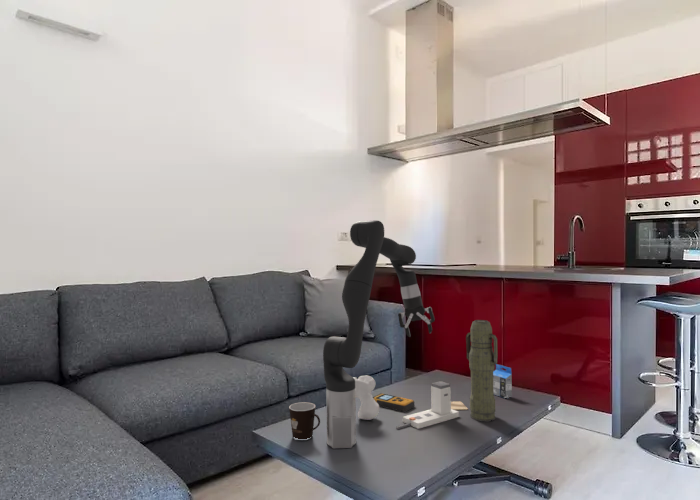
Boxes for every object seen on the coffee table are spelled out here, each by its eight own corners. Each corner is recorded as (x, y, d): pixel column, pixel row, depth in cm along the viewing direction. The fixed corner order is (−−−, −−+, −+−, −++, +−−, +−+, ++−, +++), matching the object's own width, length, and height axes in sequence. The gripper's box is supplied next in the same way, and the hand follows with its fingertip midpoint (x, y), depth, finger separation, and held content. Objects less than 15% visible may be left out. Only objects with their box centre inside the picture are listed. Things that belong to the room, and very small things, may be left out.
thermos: (472, 410, 170) (470, 318, 170) (502, 417, 162) (501, 320, 163) (462, 417, 163) (460, 320, 163) (493, 424, 155) (492, 323, 156)
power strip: (458, 416, 163) (458, 410, 163) (404, 432, 149) (404, 425, 149) (443, 410, 170) (443, 404, 170) (389, 425, 155) (389, 418, 155)
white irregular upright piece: (370, 426, 155) (370, 382, 155) (343, 420, 161) (343, 378, 161) (383, 417, 163) (383, 376, 163) (357, 412, 169) (357, 372, 169)
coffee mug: (286, 434, 148) (286, 404, 148) (311, 430, 152) (310, 400, 152) (296, 448, 137) (295, 415, 138) (322, 443, 141) (322, 411, 141)
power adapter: (451, 417, 163) (450, 384, 163) (441, 420, 160) (440, 386, 160) (441, 413, 167) (440, 381, 167) (431, 415, 164) (430, 383, 164)
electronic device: (404, 414, 168) (404, 405, 168) (370, 405, 178) (370, 397, 178) (415, 407, 175) (415, 399, 175) (382, 399, 185) (382, 391, 185)
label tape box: (489, 393, 190) (489, 364, 191) (496, 392, 192) (496, 363, 193) (505, 399, 183) (505, 369, 183) (512, 397, 185) (512, 367, 185)
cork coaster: (467, 409, 170) (467, 408, 170) (444, 410, 170) (444, 409, 170) (460, 402, 179) (460, 401, 179) (438, 402, 179) (438, 401, 179)
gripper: (393, 300, 181) (401, 339, 180) (428, 293, 177) (437, 333, 177) (395, 298, 188) (404, 335, 188) (429, 291, 185) (437, 330, 184)
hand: (420, 334), depth 182 cm, fingers open, 8 cm apart
